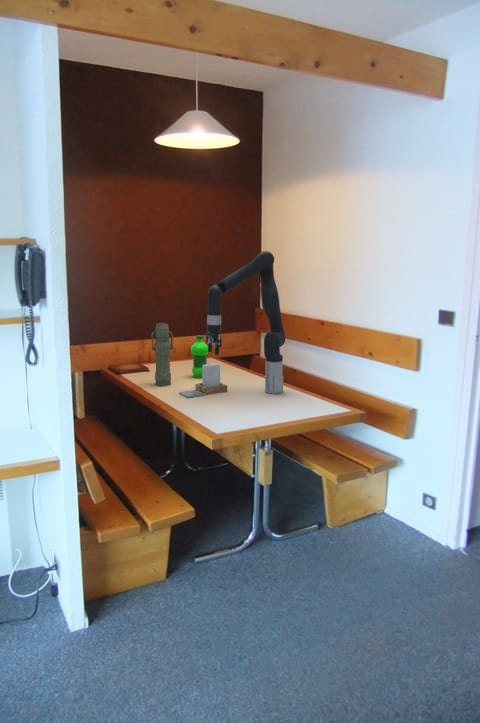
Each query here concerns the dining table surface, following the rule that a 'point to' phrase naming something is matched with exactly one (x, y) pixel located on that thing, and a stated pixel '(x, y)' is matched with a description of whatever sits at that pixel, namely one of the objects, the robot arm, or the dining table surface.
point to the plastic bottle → (199, 356)
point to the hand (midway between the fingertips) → (213, 353)
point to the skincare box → (211, 375)
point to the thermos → (162, 354)
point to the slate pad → (191, 393)
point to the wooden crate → (211, 388)
